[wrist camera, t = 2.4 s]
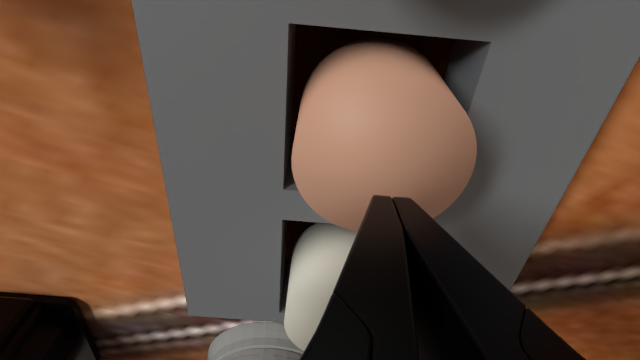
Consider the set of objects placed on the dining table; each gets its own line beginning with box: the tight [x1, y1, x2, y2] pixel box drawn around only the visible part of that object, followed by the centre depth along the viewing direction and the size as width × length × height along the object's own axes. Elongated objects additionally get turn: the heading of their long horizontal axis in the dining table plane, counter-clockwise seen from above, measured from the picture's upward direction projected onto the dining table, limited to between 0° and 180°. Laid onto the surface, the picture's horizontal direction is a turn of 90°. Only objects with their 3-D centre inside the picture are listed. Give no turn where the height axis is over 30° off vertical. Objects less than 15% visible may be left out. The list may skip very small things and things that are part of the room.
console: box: [131, 0, 640, 322], centre depth 13 cm, size 21×14×3 cm, turn 175°
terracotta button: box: [291, 38, 477, 232], centre depth 11 cm, size 5×5×3 cm
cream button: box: [284, 223, 357, 351], centre depth 15 cm, size 5×5×3 cm
